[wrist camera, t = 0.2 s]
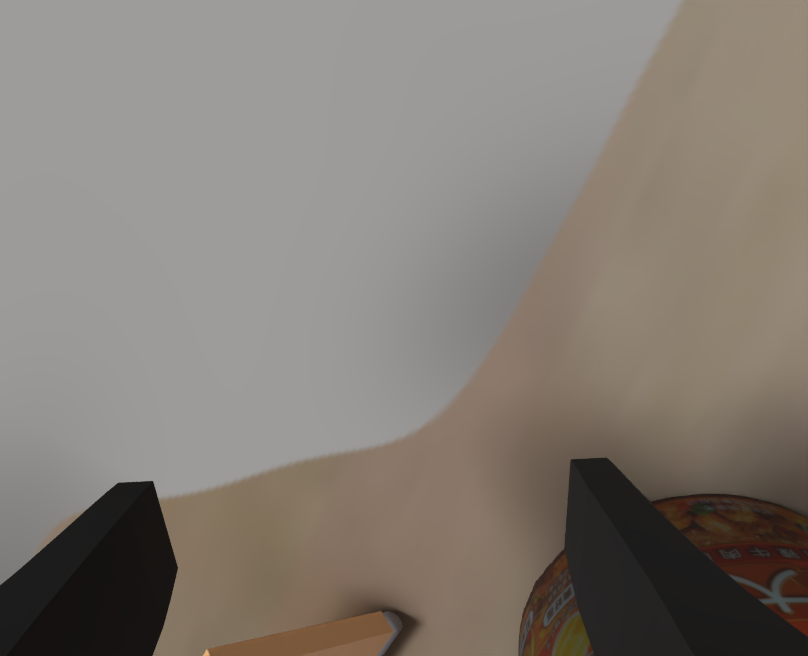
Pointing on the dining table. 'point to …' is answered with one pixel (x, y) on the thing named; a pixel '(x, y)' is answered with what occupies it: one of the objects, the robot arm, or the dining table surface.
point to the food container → (719, 540)
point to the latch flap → (324, 639)
